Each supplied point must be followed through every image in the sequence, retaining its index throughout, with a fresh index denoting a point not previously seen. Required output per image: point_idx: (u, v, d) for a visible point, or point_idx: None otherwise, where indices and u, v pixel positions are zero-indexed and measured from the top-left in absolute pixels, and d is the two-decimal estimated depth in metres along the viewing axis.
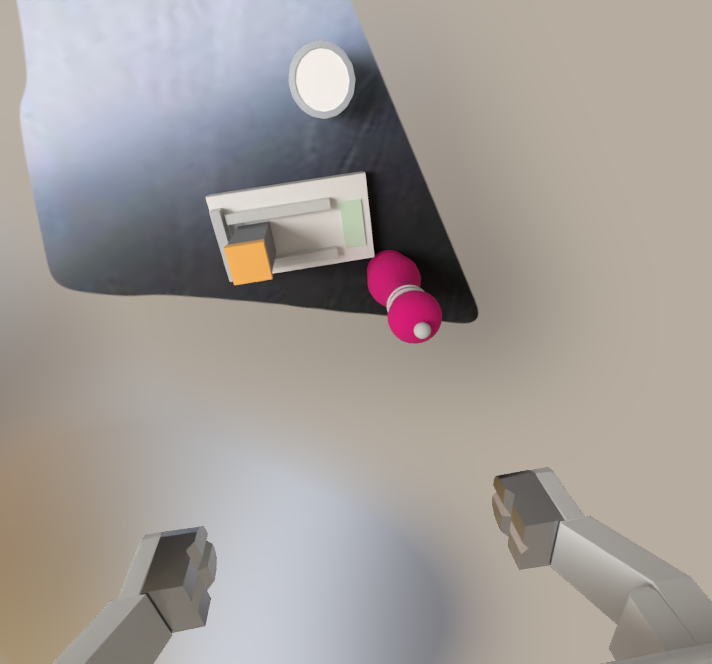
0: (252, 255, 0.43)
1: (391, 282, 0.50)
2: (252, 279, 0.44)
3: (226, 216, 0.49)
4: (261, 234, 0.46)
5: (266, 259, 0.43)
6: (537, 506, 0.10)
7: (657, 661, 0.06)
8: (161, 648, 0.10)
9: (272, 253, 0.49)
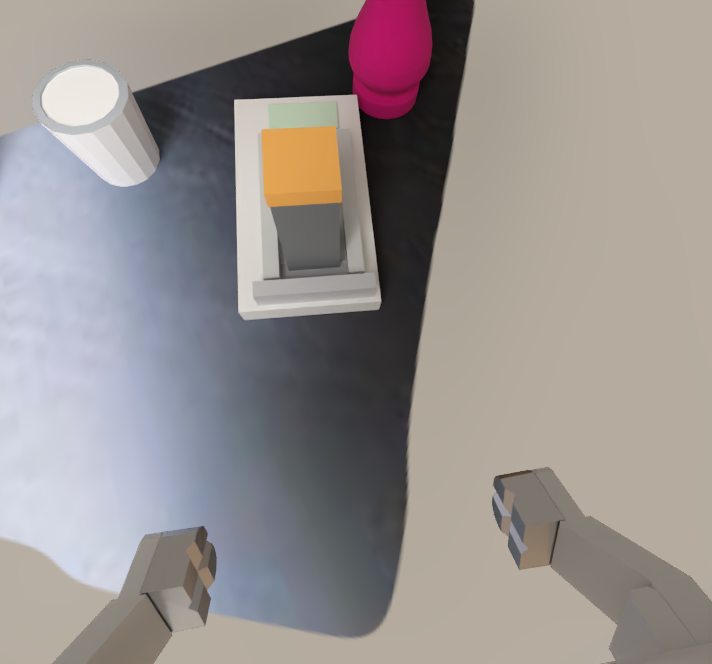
0: (284, 150, 0.22)
1: (375, 2, 0.30)
2: (333, 157, 0.22)
3: (265, 275, 0.30)
4: None
5: (295, 129, 0.23)
6: (537, 506, 0.10)
7: (657, 661, 0.06)
8: (161, 648, 0.10)
9: None
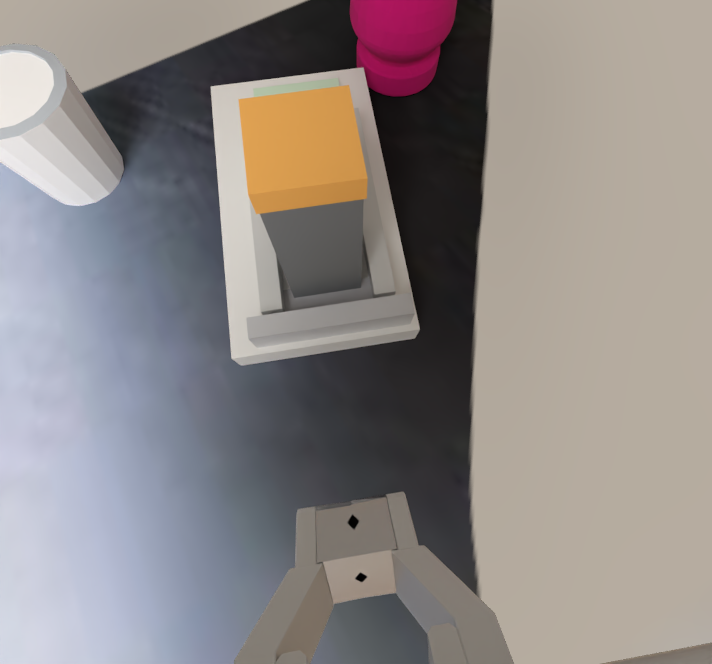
0: (275, 125, 0.15)
1: None
2: (349, 131, 0.15)
3: (263, 308, 0.22)
4: None
5: (289, 95, 0.15)
6: (376, 533, 0.10)
7: (657, 661, 0.06)
8: (327, 618, 0.10)
9: None
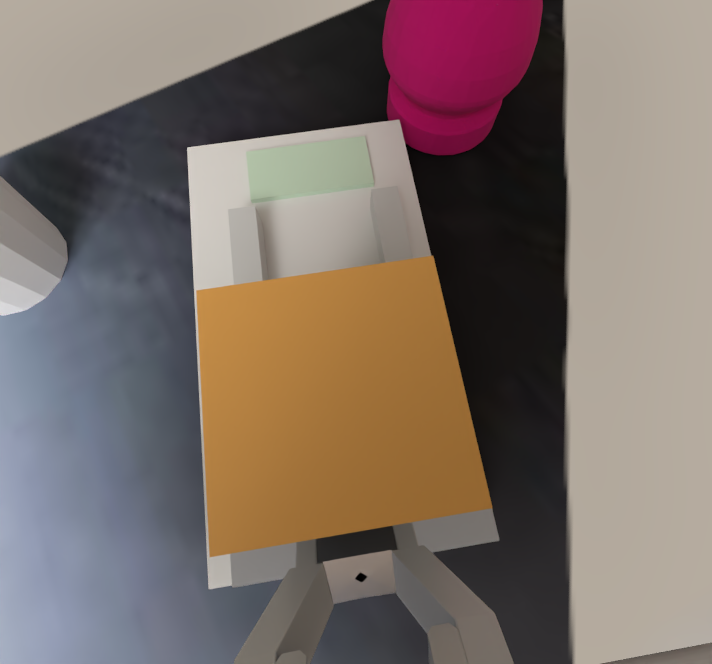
0: (275, 360, 0.07)
1: None
2: (441, 374, 0.07)
3: None
4: None
5: (306, 280, 0.07)
6: (376, 534, 0.10)
7: (657, 661, 0.06)
8: (327, 618, 0.10)
9: None
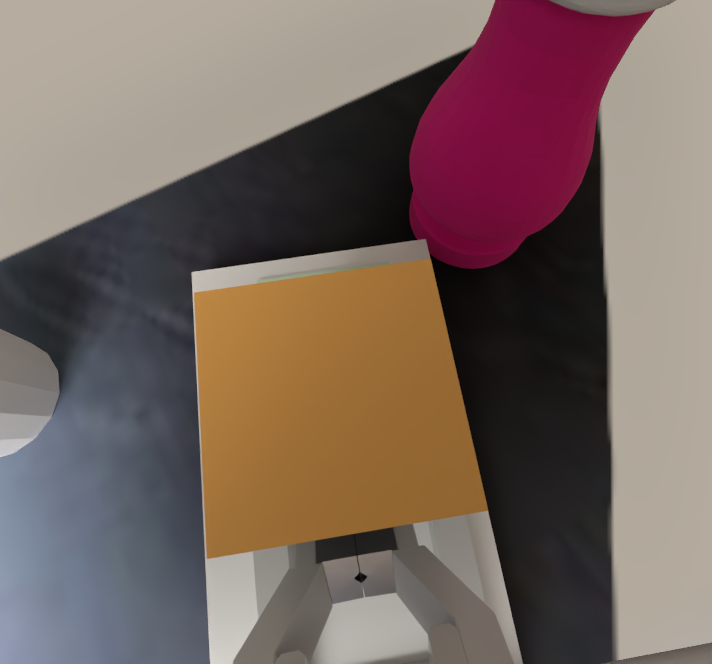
0: (273, 362, 0.07)
1: (498, 88, 0.12)
2: (437, 377, 0.07)
3: None
4: None
5: (304, 282, 0.07)
6: (376, 534, 0.10)
7: (657, 661, 0.06)
8: (326, 618, 0.10)
9: None
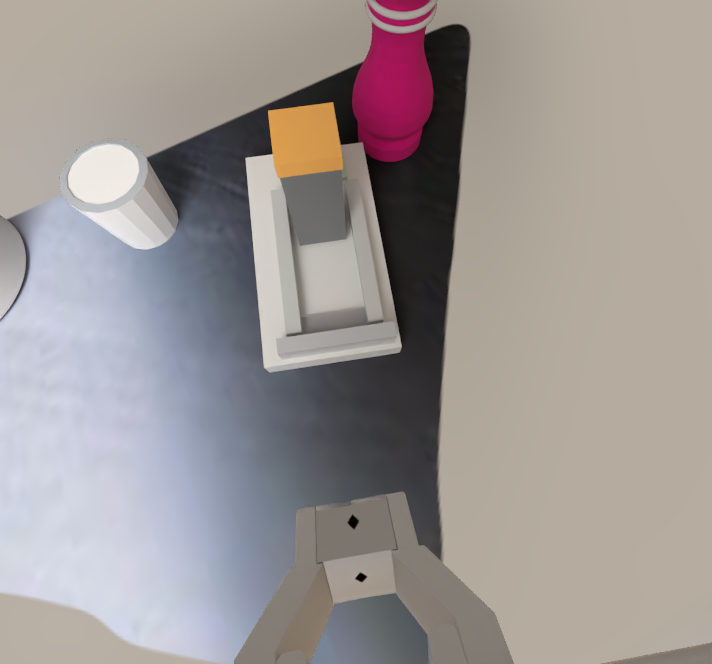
0: (289, 126, 0.25)
1: (376, 60, 0.31)
2: (332, 129, 0.25)
3: (287, 331, 0.31)
4: None
5: (298, 108, 0.26)
6: (376, 534, 0.10)
7: (657, 661, 0.06)
8: (327, 618, 0.10)
9: None
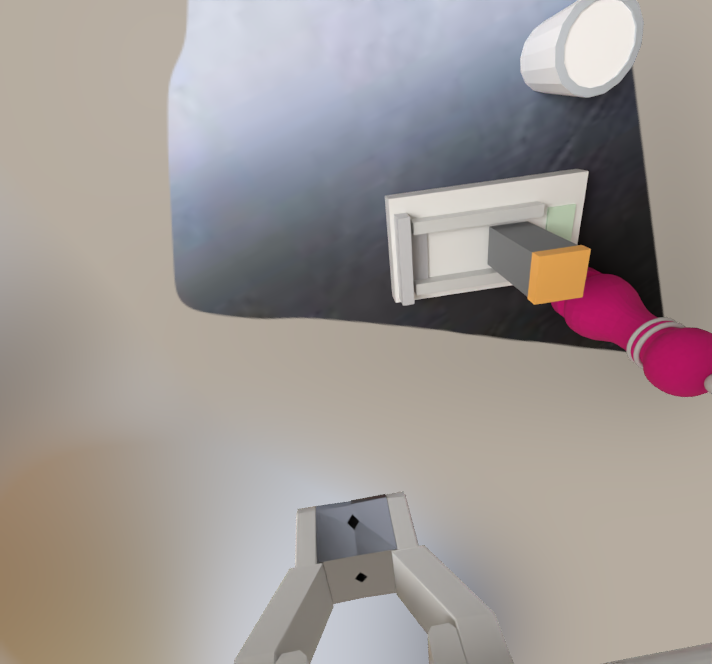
0: (571, 266, 0.32)
1: (623, 312, 0.39)
2: (558, 297, 0.34)
3: (415, 224, 0.39)
4: (556, 238, 0.35)
5: (585, 271, 0.33)
6: (376, 533, 0.10)
7: (657, 661, 0.06)
8: (327, 618, 0.10)
9: None
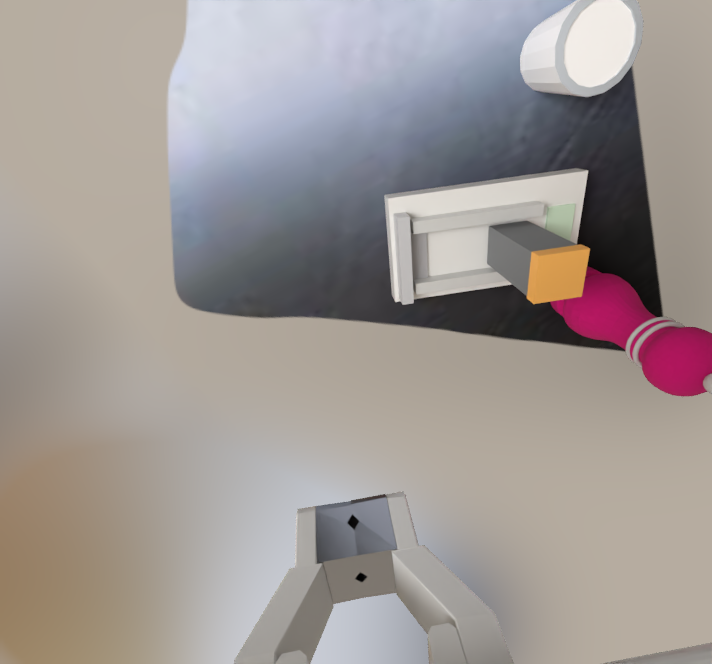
0: (570, 265, 0.33)
1: (622, 311, 0.39)
2: (558, 296, 0.34)
3: (414, 223, 0.39)
4: (556, 237, 0.35)
5: (584, 271, 0.33)
6: (376, 533, 0.10)
7: (657, 661, 0.06)
8: (327, 618, 0.10)
9: None
